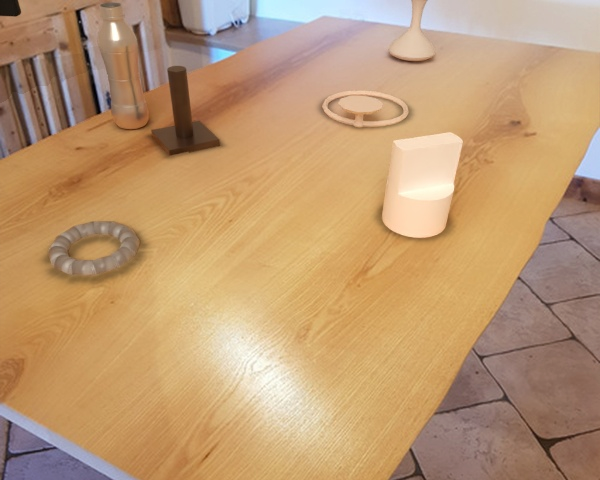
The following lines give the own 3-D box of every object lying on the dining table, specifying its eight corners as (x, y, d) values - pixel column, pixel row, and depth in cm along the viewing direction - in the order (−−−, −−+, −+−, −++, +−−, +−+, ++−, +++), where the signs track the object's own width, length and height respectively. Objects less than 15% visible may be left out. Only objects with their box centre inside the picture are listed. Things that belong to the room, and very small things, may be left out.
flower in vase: (377, 56, 134) (390, -65, 118) (407, 47, 140) (423, -70, 124) (420, 70, 127) (440, -57, 111) (449, 60, 133) (472, -62, 117)
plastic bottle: (139, 116, 104) (118, -2, 91) (158, 127, 100) (139, 6, 87) (107, 125, 100) (81, 3, 87) (126, 137, 97) (101, 12, 84)
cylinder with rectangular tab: (425, 200, 82) (440, 123, 74) (458, 232, 75) (478, 151, 68) (370, 210, 79) (380, 131, 72) (400, 244, 73) (414, 161, 65)
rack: (170, 158, 91) (158, 81, 82) (152, 138, 96) (140, 64, 88) (220, 147, 94) (214, 72, 86) (200, 128, 100) (192, 56, 92)
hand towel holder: (415, 79, 110) (405, 118, 95) (412, 100, 113) (401, 142, 97) (332, 70, 113) (309, 106, 97) (331, 91, 115) (309, 130, 100)
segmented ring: (62, 292, 64) (57, 277, 63) (44, 245, 71) (39, 231, 70) (151, 265, 68) (148, 251, 67) (126, 224, 75) (123, 210, 74)
